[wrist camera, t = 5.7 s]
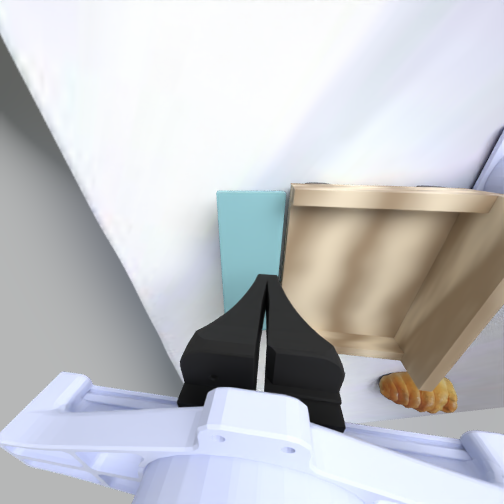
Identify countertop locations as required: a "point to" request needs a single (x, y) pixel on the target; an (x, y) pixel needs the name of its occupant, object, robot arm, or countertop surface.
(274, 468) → the robot arm
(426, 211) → the tray
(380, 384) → the pastry
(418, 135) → the countertop surface
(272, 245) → the panel
